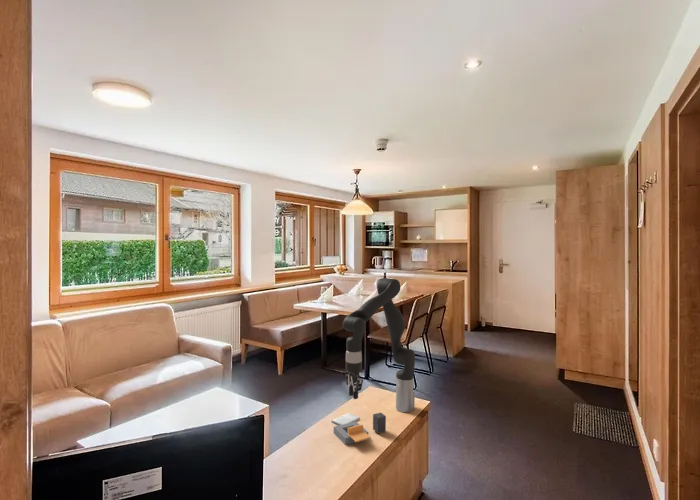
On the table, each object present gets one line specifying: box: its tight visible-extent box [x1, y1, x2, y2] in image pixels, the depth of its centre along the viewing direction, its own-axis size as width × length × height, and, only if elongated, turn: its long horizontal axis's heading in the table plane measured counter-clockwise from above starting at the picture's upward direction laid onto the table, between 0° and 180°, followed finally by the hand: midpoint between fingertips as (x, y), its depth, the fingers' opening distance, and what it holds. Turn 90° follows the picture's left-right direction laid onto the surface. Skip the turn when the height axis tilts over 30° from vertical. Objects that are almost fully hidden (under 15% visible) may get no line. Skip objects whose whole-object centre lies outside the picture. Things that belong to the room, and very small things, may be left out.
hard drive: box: [331, 412, 361, 426], centre depth 188 cm, size 2×8×12 cm
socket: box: [333, 421, 369, 446], centre depth 173 cm, size 12×12×3 cm
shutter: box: [348, 423, 371, 443], centre depth 166 cm, size 8×8×3 cm
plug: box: [372, 412, 387, 434], centre depth 177 cm, size 4×4×8 cm
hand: (353, 396), depth 171 cm, fingers open, 3 cm apart
